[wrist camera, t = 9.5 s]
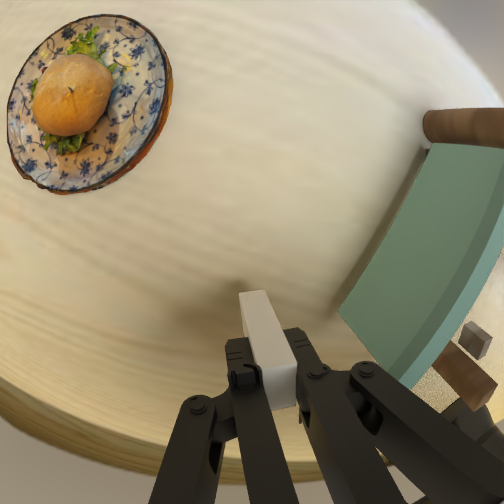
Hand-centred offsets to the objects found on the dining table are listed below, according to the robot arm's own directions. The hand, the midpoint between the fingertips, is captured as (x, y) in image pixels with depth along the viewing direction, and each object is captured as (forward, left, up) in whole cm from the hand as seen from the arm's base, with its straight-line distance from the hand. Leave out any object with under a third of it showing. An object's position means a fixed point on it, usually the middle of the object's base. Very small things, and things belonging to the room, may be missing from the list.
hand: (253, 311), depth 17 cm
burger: (+14, +9, -3) cm, 17 cm away
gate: (+3, -11, -1) cm, 11 cm away
